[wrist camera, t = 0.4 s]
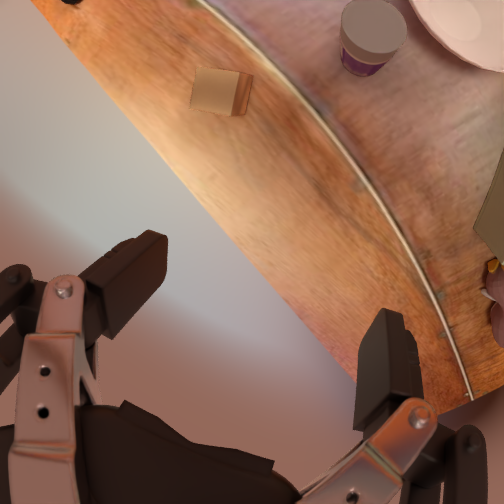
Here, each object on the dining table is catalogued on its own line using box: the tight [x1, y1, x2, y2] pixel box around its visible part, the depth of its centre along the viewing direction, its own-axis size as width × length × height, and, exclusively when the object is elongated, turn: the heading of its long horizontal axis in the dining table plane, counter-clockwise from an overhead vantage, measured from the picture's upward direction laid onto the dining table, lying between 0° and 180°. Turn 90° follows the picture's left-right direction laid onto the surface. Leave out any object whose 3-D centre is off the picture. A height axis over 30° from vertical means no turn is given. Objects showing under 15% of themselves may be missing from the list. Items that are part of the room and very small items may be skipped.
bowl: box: [409, 0, 504, 72], centre depth 16 cm, size 16×16×7 cm
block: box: [189, 67, 253, 116], centre depth 30 cm, size 5×5×5 cm
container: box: [340, 0, 407, 76], centre depth 20 cm, size 5×5×15 cm
